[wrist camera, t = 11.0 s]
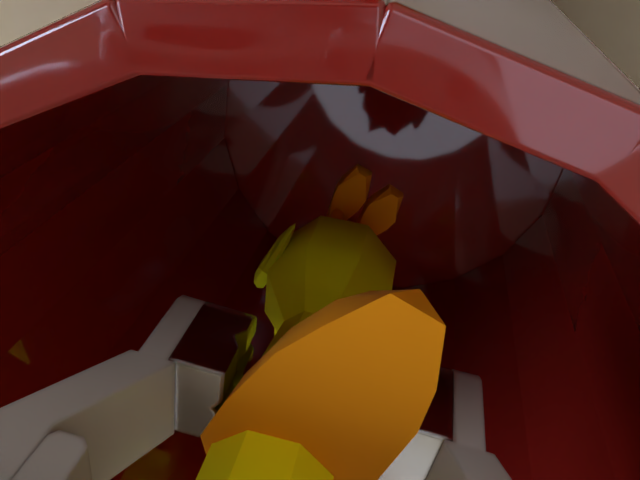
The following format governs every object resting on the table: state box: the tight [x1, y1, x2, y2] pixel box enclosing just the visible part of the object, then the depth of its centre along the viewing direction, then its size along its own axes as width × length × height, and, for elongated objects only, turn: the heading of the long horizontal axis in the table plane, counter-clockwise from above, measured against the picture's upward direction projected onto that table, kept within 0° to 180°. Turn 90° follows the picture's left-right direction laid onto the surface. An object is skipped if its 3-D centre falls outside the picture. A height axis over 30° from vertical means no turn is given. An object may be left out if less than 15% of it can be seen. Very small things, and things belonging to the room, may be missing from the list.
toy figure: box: [196, 164, 446, 480], centre depth 10 cm, size 7×4×12 cm, turn 152°
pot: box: [0, 0, 640, 480], centre depth 14 cm, size 13×14×14 cm
